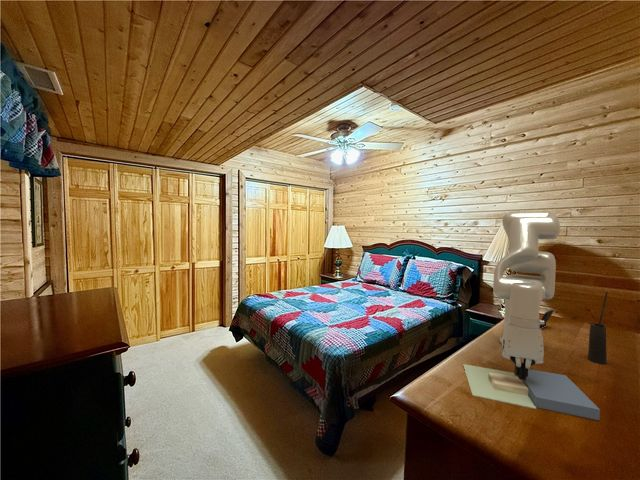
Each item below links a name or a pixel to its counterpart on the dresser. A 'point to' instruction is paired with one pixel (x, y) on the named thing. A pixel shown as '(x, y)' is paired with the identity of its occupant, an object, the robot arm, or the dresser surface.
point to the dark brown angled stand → (546, 317)
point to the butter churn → (598, 340)
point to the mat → (484, 388)
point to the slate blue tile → (559, 394)
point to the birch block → (507, 383)
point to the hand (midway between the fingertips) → (521, 377)
